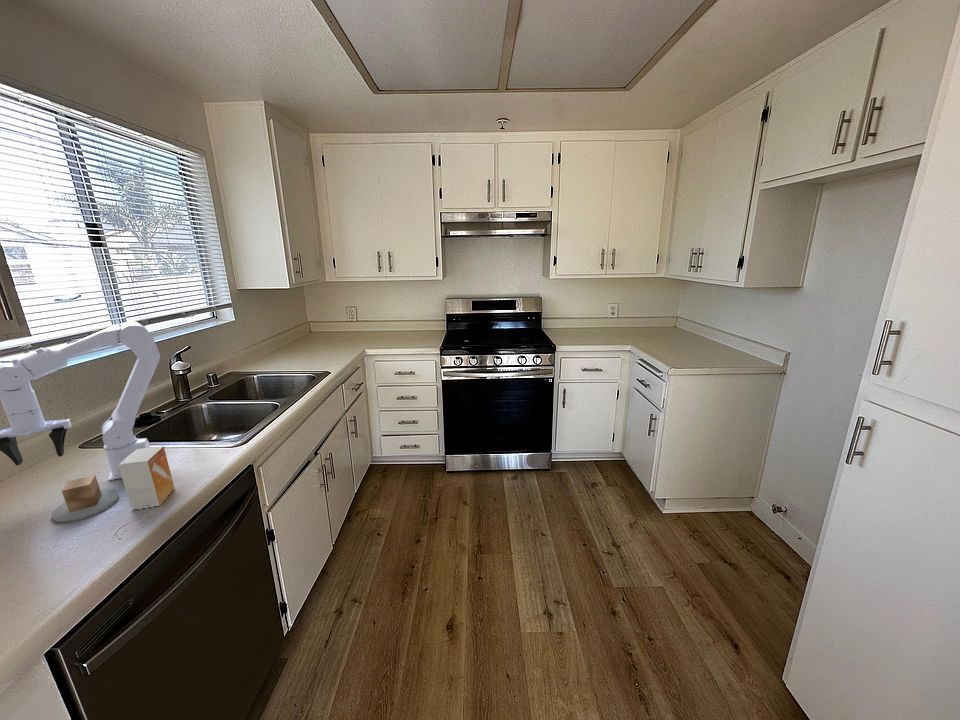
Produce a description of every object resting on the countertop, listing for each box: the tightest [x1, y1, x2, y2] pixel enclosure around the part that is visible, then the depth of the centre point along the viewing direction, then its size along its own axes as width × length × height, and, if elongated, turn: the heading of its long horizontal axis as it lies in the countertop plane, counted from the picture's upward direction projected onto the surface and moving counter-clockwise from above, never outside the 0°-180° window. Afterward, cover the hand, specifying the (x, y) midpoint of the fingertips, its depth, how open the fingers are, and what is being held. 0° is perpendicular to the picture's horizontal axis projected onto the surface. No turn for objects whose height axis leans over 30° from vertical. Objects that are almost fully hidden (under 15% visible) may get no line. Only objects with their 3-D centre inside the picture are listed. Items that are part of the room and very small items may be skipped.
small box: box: [118, 445, 175, 511], centre depth 100 cm, size 8×6×13 cm
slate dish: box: [51, 488, 120, 524], centre depth 99 cm, size 12×12×1 cm
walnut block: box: [61, 474, 102, 512], centre depth 98 cm, size 5×5×6 cm
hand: (40, 459), depth 102 cm, fingers open, 7 cm apart
